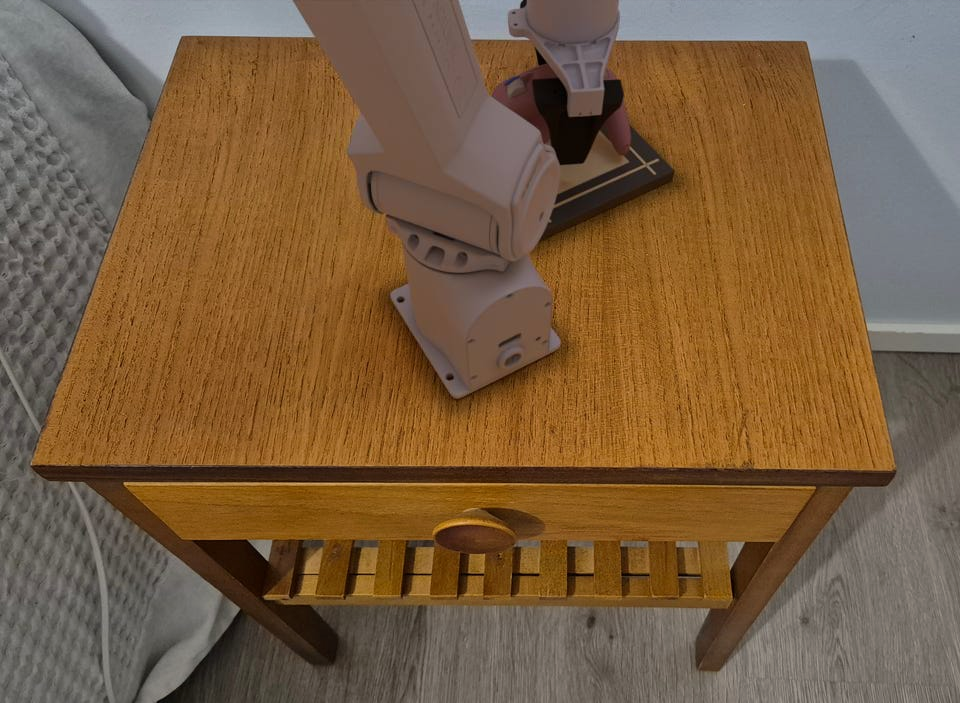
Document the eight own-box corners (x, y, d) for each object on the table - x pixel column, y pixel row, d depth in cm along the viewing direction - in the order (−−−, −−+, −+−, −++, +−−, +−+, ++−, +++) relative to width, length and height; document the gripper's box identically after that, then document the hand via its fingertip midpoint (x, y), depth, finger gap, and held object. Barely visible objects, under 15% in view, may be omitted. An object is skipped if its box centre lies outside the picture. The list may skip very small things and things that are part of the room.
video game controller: (612, 136, 63) (609, 44, 59) (637, 157, 59) (635, 59, 55) (490, 164, 61) (478, 71, 57) (507, 187, 58) (496, 89, 54)
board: (672, 180, 60) (675, 169, 59) (534, 243, 57) (534, 233, 56) (584, 88, 66) (585, 77, 65) (454, 142, 63) (453, 131, 62)
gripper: (498, -113, 51) (500, 66, 63) (520, 29, 44) (517, 204, 55) (609, -121, 52) (591, 59, 63) (650, 20, 44) (621, 197, 55)
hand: (563, 127), depth 59 cm, fingers closed on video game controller, 6 cm apart
